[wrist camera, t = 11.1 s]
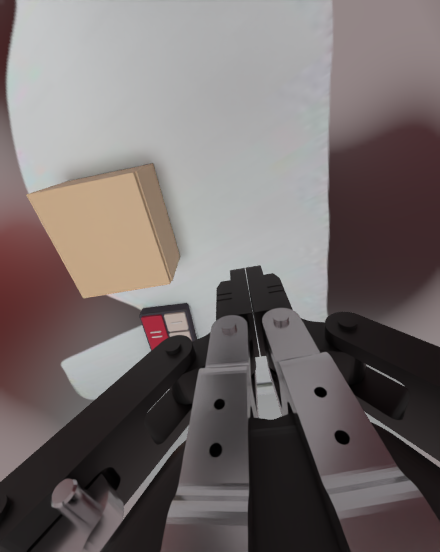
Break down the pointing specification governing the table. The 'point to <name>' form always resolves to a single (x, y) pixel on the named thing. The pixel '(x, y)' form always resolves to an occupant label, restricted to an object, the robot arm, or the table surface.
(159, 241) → the box
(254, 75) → the table surface
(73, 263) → the lid
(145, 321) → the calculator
